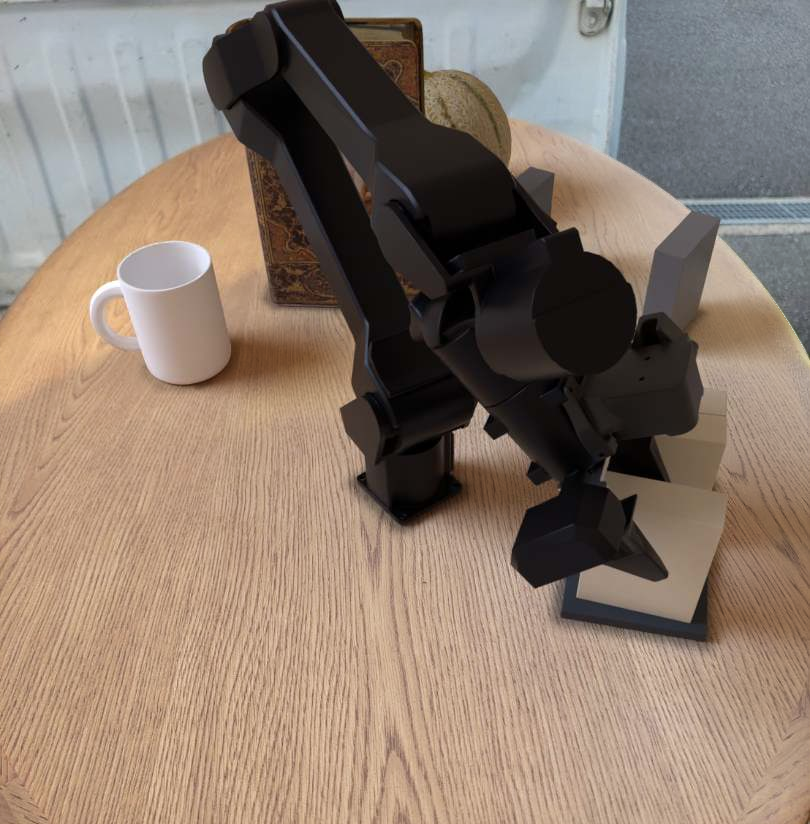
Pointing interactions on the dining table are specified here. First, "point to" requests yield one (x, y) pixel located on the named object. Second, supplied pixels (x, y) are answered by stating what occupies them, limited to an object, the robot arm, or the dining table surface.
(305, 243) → the book
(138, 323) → the mug
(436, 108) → the cantaloupe
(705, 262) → the grey books
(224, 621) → the dining table surface
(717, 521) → the cream book
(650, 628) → the book mat
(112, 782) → the dining table surface
